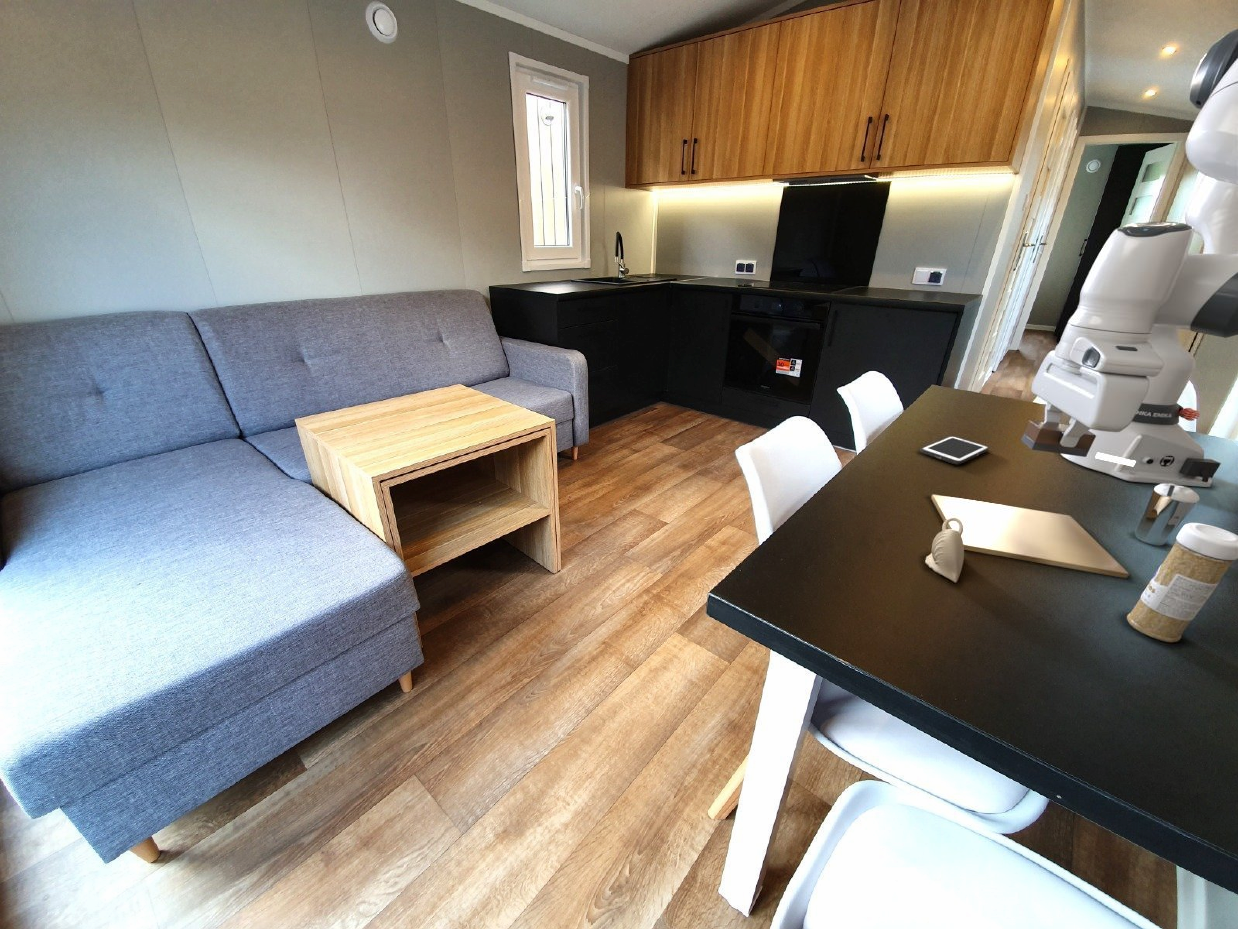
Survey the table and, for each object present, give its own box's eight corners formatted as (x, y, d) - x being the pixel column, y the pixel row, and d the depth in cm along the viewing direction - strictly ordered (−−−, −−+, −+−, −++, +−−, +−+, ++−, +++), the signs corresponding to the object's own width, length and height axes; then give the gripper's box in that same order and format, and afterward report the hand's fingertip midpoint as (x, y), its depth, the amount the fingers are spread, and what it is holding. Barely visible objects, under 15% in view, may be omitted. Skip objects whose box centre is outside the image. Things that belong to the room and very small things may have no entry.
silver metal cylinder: (1119, 536, 76) (1151, 478, 71) (1137, 529, 78) (1170, 473, 73) (1158, 552, 72) (1194, 492, 68) (1176, 544, 74) (1212, 486, 70)
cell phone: (918, 452, 103) (919, 448, 102) (950, 439, 111) (952, 435, 110) (957, 466, 97) (959, 461, 97) (989, 451, 105) (990, 446, 104)
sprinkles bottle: (1125, 610, 60) (1183, 516, 54) (1178, 630, 57) (1245, 533, 51) (1125, 629, 57) (1186, 532, 51) (1181, 651, 54) (1252, 550, 48)
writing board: (1067, 519, 80) (1070, 515, 79) (1126, 578, 66) (1129, 573, 65) (930, 498, 85) (932, 494, 84) (958, 548, 71) (960, 544, 71)
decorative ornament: (920, 570, 66) (932, 537, 64) (933, 544, 72) (944, 513, 69) (955, 584, 64) (969, 550, 61) (965, 556, 69) (978, 524, 67)
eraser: (1072, 447, 77) (1082, 426, 75) (1086, 457, 73) (1096, 435, 72) (1020, 440, 79) (1029, 420, 77) (1031, 449, 75) (1040, 428, 74)
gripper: (1039, 334, 79) (1007, 415, 85) (1111, 361, 61) (1064, 461, 67) (1086, 338, 77) (1049, 420, 83) (1174, 367, 60) (1120, 468, 66)
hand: (1056, 439), depth 75 cm, fingers closed on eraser, 4 cm apart
